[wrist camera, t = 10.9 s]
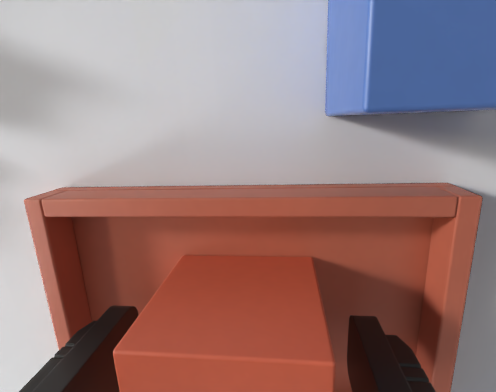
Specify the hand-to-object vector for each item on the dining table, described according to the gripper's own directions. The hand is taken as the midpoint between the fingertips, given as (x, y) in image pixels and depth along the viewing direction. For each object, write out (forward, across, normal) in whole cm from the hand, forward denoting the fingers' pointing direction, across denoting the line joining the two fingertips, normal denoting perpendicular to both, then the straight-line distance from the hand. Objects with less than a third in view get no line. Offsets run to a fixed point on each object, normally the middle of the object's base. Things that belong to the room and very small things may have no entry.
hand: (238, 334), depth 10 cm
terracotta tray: (+2, 0, 0) cm, 2 cm away
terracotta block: (+1, 0, 0) cm, 1 cm away
